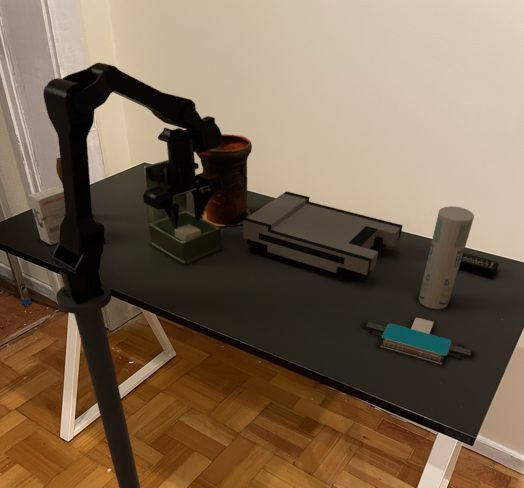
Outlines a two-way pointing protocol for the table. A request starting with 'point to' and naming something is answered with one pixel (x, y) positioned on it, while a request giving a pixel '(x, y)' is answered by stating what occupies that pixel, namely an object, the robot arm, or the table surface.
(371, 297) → the table surface
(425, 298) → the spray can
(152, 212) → the box lid
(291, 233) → the game console
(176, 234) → the white block
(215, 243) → the storage tray
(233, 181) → the vessel
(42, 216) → the ink box
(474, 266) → the multiport hub
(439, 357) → the teal block with rod
